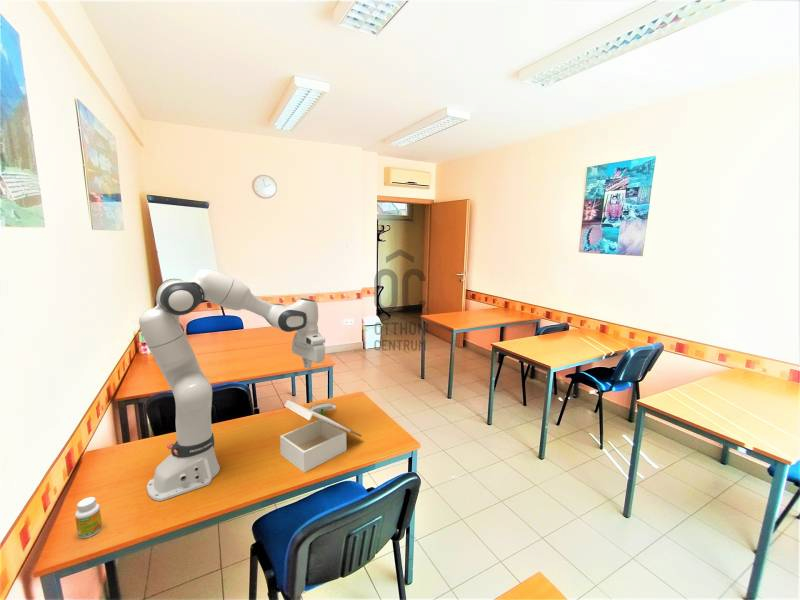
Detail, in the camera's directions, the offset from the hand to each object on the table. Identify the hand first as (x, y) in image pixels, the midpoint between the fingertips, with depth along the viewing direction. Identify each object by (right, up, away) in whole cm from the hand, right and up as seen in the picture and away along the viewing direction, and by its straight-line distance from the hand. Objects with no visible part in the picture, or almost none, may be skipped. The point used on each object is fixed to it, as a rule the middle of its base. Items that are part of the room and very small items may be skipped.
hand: (307, 367), depth 153 cm
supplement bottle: (-51, -39, -48) cm, 80 cm away
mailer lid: (+8, -22, -6) cm, 24 cm away
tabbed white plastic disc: (+1, -29, +24) cm, 37 cm away
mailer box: (+5, -33, -8) cm, 34 cm away
